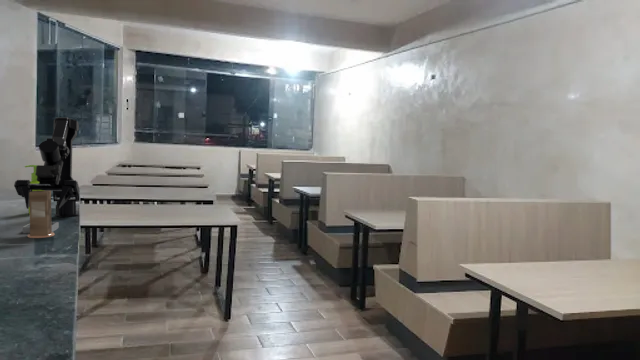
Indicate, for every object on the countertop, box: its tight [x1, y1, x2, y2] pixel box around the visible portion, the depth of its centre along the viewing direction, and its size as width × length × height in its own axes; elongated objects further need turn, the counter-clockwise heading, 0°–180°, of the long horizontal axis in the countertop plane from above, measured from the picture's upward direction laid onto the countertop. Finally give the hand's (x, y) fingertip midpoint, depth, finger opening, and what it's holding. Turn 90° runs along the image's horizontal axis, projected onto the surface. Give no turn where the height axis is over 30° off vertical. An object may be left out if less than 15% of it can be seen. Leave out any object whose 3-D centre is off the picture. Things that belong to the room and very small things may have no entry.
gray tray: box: [22, 221, 60, 234], centre depth 162 cm, size 9×9×2 cm
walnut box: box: [29, 190, 53, 236], centre depth 154 cm, size 5×5×14 cm
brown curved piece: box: [27, 231, 55, 239], centre depth 154 cm, size 8×8×1 cm
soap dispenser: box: [23, 164, 46, 215], centre depth 195 cm, size 6×7×20 cm
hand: (43, 207), depth 156 cm, fingers open, 9 cm apart
